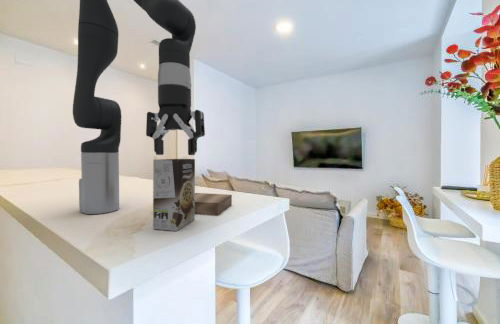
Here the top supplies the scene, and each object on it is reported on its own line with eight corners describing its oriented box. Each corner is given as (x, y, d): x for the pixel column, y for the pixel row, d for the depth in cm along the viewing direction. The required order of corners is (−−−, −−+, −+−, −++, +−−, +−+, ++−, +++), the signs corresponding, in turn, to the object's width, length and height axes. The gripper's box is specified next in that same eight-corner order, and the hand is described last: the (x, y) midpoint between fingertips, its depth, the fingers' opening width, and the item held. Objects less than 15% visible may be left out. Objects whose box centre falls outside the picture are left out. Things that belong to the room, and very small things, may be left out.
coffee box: (177, 231, 49) (177, 159, 49) (152, 229, 50) (151, 158, 50) (195, 219, 58) (196, 158, 57) (173, 218, 59) (173, 158, 59)
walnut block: (176, 214, 65) (175, 200, 65) (196, 204, 77) (196, 192, 77) (217, 217, 62) (218, 203, 62) (231, 206, 75) (231, 194, 75)
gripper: (137, 84, 51) (139, 155, 51) (195, 80, 48) (195, 155, 48) (158, 93, 58) (158, 154, 59) (208, 90, 55) (209, 155, 56)
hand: (175, 154), depth 54 cm, fingers open, 8 cm apart
